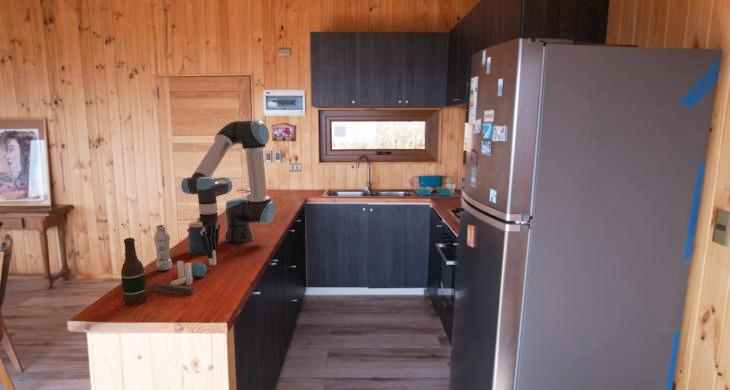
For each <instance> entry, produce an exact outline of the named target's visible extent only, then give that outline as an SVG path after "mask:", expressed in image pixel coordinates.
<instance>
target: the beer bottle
mask: <svg viewBox="0 0 730 390" xmlns="http://www.w3.org/2000/svg"><path fill="white" fill-rule="evenodd" d="M135 241H136V240H135V238H134V237H127V238H125V239H124V240H123V243H124V257H125V258H124V263H123V264H122V268H121V270H120V271H121V286H122V295H123V300H124V301H123V302H124V305H125V306H129V307H134V306H140V305H143V304H145V303H147V288H146V287H147V285H146V276H145V269H144V265H143V263H142V262H141V260H140V259H139V258H138V255H137V251H136V250H137V249H136V245H135Z"/></svg>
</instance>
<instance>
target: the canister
mask: <svg viewBox="0 0 730 390" xmlns="http://www.w3.org/2000/svg"><path fill="white" fill-rule="evenodd" d="M196 219H197V220H194V221H191V222H190V223H188V225H187V226H188V228H187V229H186V231H187V234H188V235H187V243H188V252H189V254H191V255H195V256H196V255H208V251H204V248H203V244H202V240H201V236H200V234H199V231H202V225H203V224H202V222H200V216H199V217H197V218H196ZM215 250H216V249H215Z"/></svg>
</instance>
